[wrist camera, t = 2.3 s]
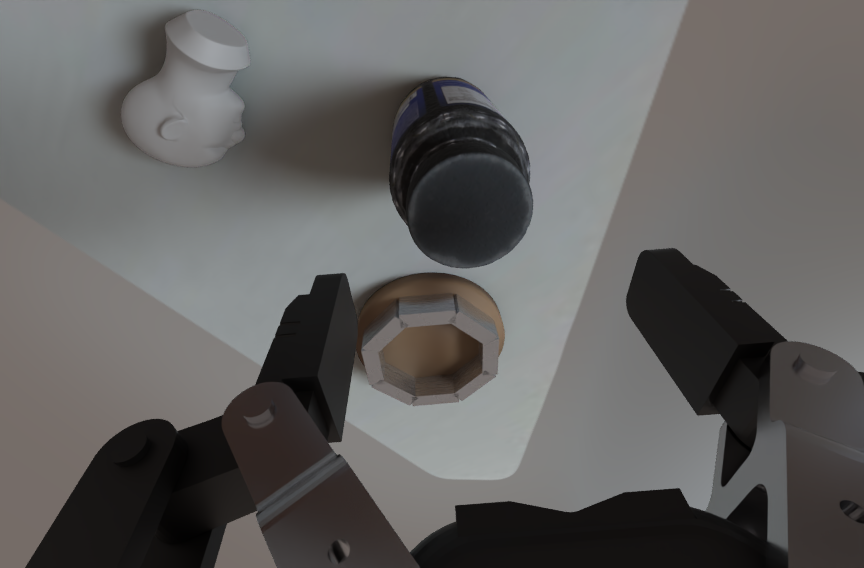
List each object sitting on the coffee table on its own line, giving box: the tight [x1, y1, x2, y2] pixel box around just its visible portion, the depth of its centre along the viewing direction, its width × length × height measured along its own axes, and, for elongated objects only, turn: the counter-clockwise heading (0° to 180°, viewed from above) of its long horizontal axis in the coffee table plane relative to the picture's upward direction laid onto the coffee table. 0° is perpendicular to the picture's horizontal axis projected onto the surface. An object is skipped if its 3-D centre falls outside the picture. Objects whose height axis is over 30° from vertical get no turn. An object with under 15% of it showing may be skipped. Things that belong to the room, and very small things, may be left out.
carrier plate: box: [356, 273, 505, 406], centre depth 31 cm, size 12×12×4 cm
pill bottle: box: [389, 77, 533, 268], centre depth 19 cm, size 6×6×11 cm
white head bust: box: [121, 10, 251, 167], centre depth 20 cm, size 4×8×5 cm
